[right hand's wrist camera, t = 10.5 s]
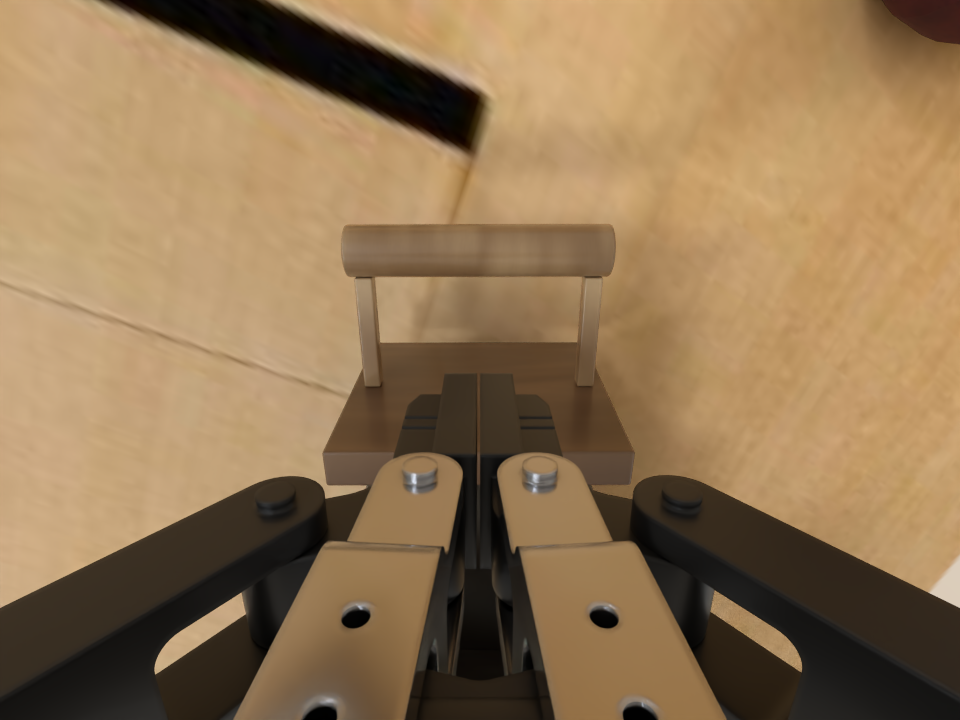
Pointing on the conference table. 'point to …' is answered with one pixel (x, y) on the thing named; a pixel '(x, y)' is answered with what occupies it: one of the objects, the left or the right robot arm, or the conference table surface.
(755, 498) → the conference table surface
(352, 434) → the drawer
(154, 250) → the conference table surface
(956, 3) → the potato
